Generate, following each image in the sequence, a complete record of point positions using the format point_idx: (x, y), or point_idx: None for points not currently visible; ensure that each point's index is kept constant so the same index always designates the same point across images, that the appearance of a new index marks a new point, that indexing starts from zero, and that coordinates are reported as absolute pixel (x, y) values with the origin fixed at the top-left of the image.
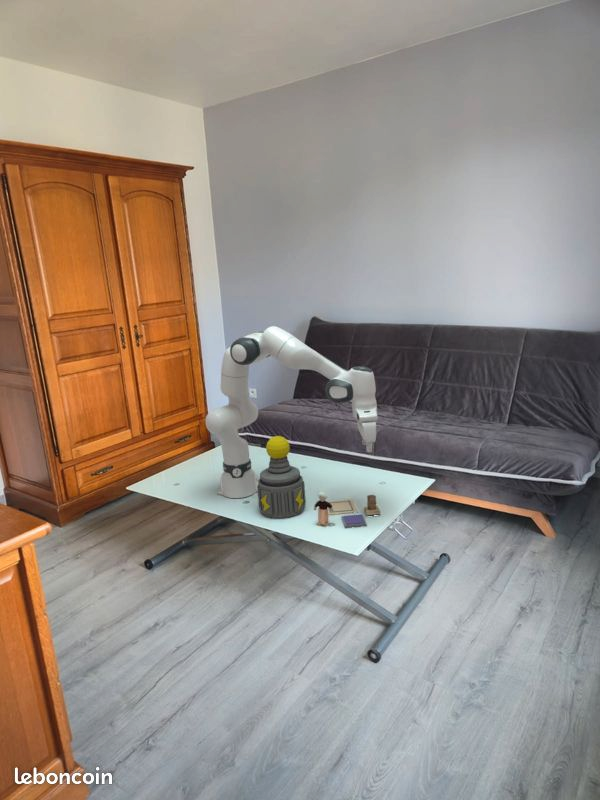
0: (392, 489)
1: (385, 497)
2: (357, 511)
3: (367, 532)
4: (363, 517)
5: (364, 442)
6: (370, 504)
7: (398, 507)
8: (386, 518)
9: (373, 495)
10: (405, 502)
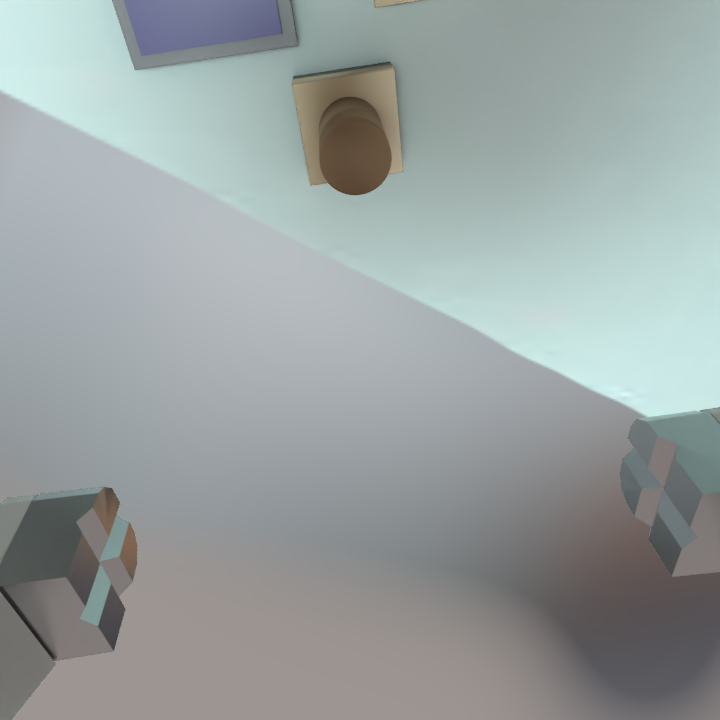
0: (682, 276)
1: (579, 227)
2: (378, 1)
3: (43, 64)
4: (238, 49)
5: (665, 476)
6: (321, 130)
7: (417, 287)
8: (269, 209)
9: (372, 177)
10: (476, 327)
